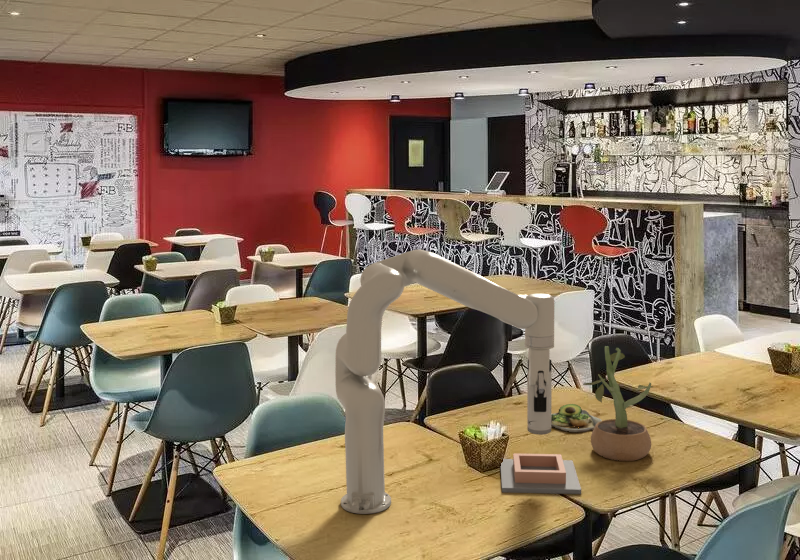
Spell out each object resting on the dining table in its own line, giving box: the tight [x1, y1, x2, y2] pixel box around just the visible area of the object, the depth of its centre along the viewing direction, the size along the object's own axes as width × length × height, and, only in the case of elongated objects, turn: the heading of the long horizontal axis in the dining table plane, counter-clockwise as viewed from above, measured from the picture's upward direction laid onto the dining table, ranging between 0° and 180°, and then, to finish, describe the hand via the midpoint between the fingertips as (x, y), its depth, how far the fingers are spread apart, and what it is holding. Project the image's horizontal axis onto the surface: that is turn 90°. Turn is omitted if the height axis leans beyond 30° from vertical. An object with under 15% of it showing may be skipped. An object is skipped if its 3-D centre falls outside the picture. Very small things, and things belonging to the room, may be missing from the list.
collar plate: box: [500, 453, 582, 495], centre depth 210 cm, size 20×20×4 cm
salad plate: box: [551, 403, 603, 433], centre depth 252 cm, size 19×18×5 cm
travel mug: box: [526, 358, 553, 436], centre depth 206 cm, size 6×7×20 cm
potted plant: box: [582, 345, 654, 462], centre depth 228 cm, size 22×18×30 cm
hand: (539, 406), depth 207 cm, fingers closed on travel mug, 6 cm apart
